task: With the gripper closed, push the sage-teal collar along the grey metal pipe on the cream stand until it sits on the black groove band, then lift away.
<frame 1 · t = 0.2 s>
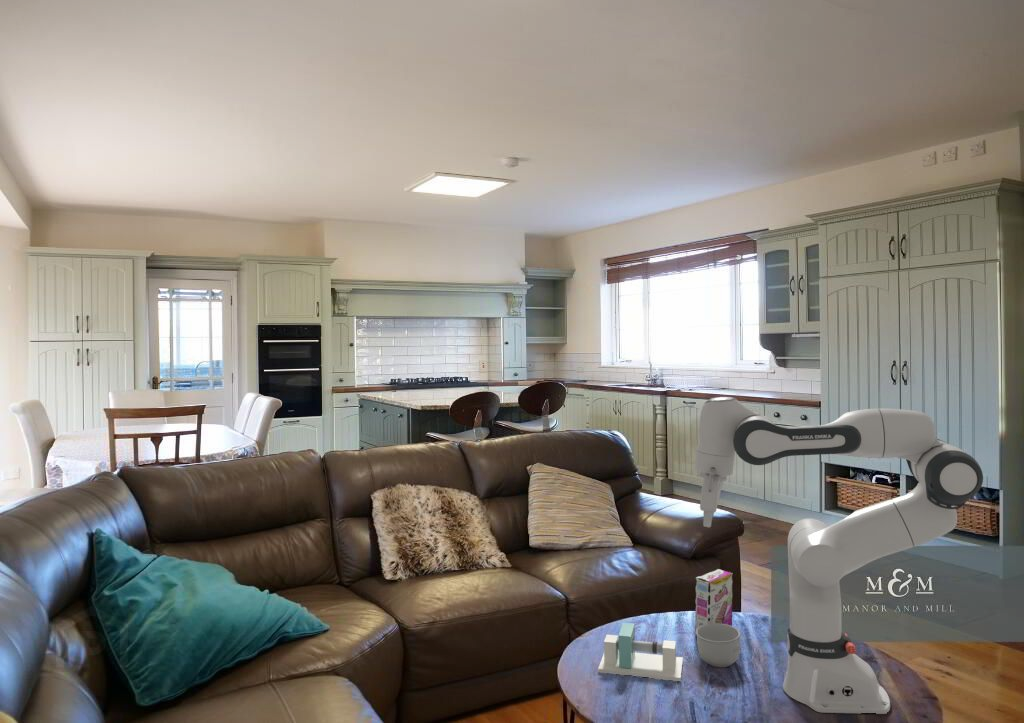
hand: (708, 521, 173), 39 cm above the table, tool pointing down, fingers open, 8 cm apart
pipe stand: (641, 666, 183), on the table
candy bar box: (714, 633, 202), on the table
teacup: (717, 659, 186), on the table
collar: (627, 644, 183), point 5 cm above the table, slide at 7.0 cm
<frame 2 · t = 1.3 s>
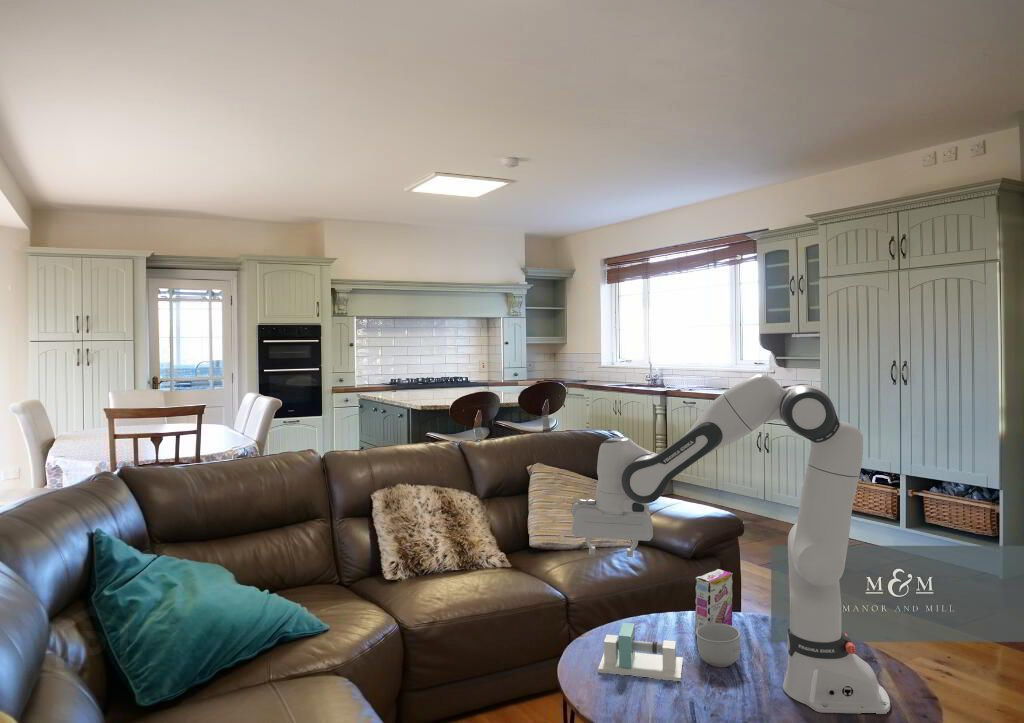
hand: (610, 555, 183), 28 cm above the table, tool pointing down, fingers open, 8 cm apart
nothing on the table moved.
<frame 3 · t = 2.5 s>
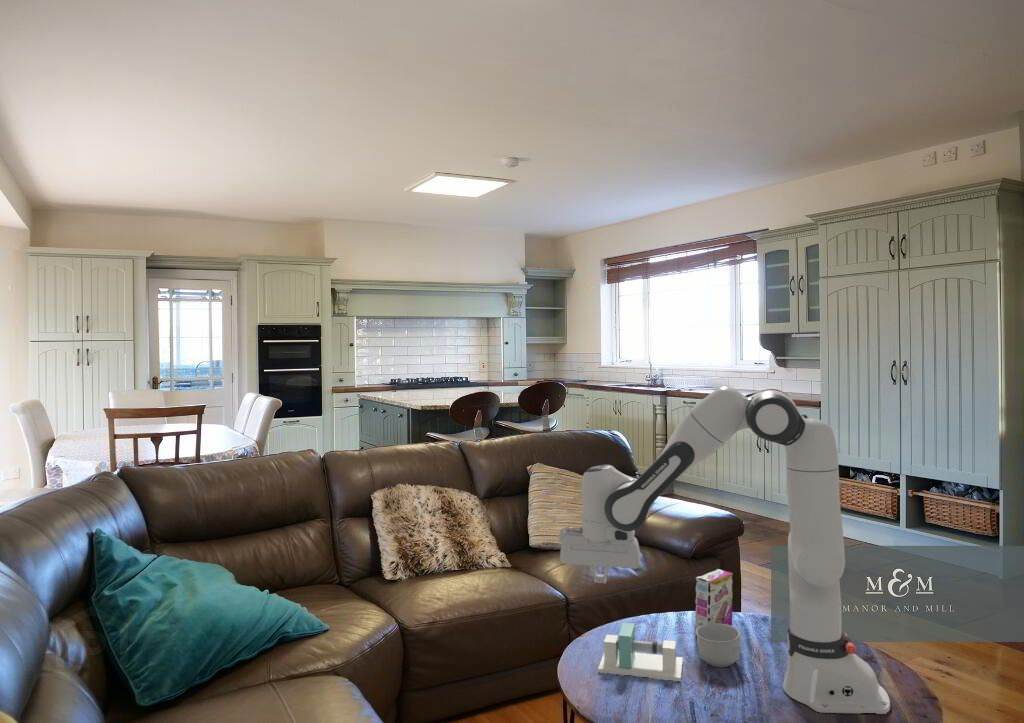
hand: (600, 582, 184), 21 cm above the table, tool pointing down, fingers closed
nothing on the table moved.
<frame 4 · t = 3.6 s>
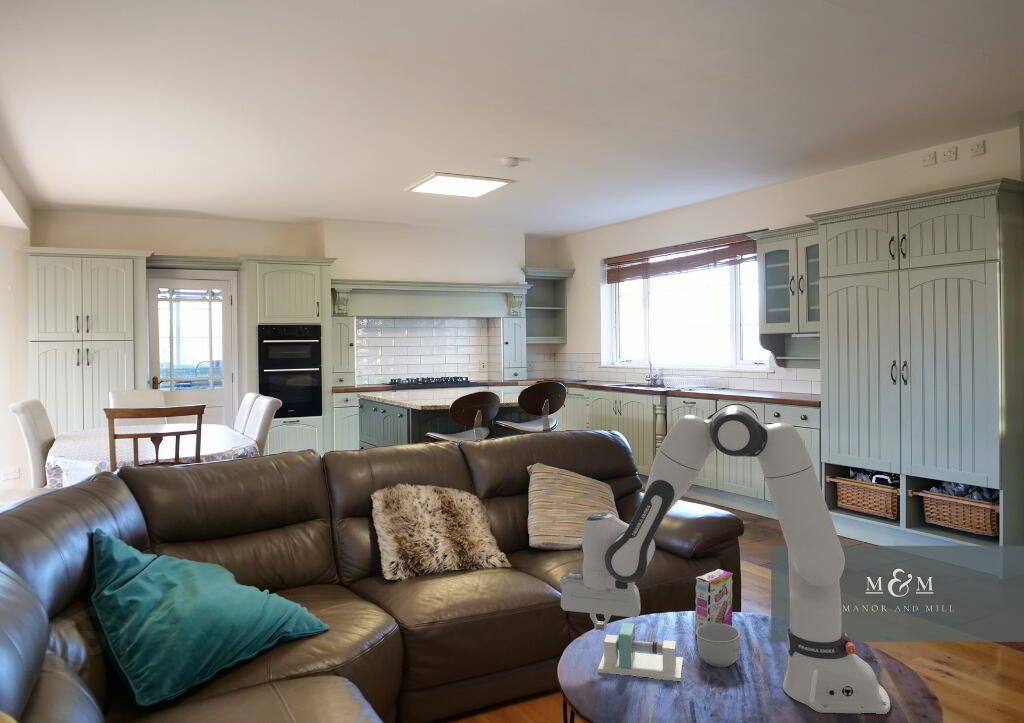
hand: (600, 629, 185), 9 cm above the table, tool pointing down, fingers closed
nothing on the table moved.
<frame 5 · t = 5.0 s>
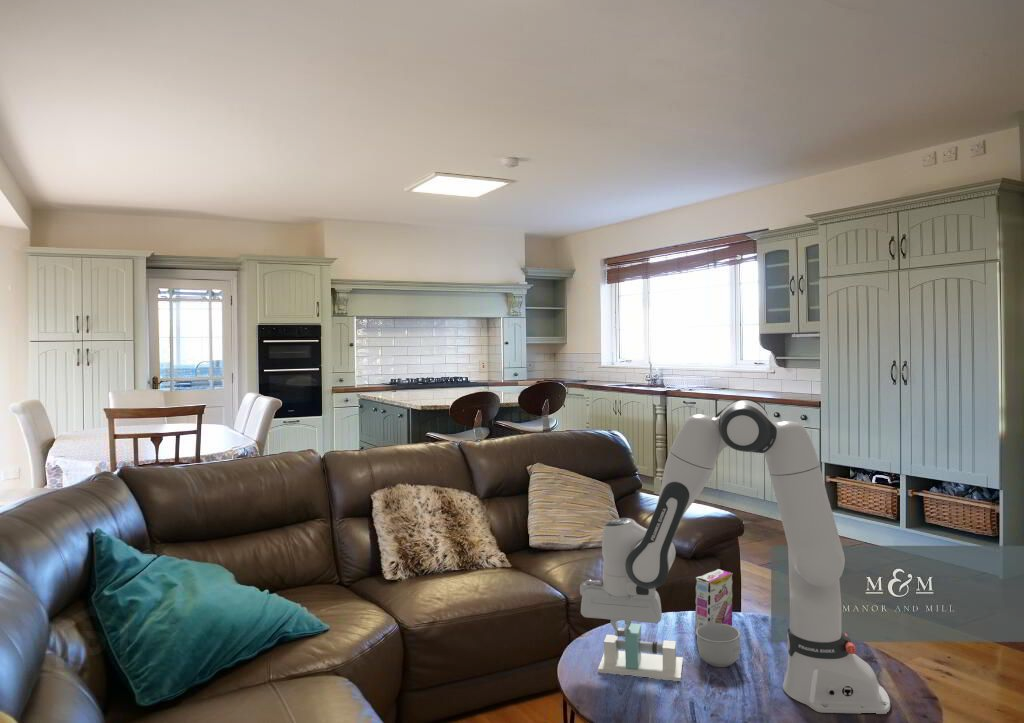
hand: (621, 635, 184), 7 cm above the table, tool pointing down, fingers closed
collar: (633, 645, 183), point 5 cm above the table, slide at 5.4 cm, touching gripper
everything else where it was.
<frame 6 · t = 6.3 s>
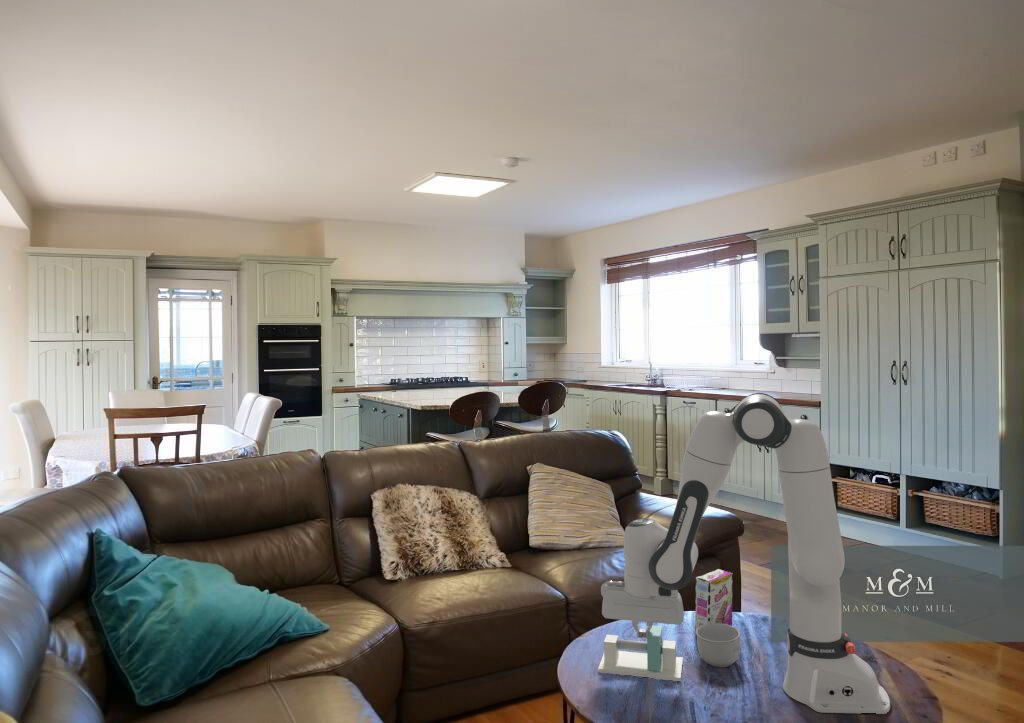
hand: (642, 637, 182), 8 cm above the table, tool pointing down, fingers closed
collar: (655, 647, 182), point 5 cm above the table, slide at 0.0 cm, touching gripper
everything else where it was.
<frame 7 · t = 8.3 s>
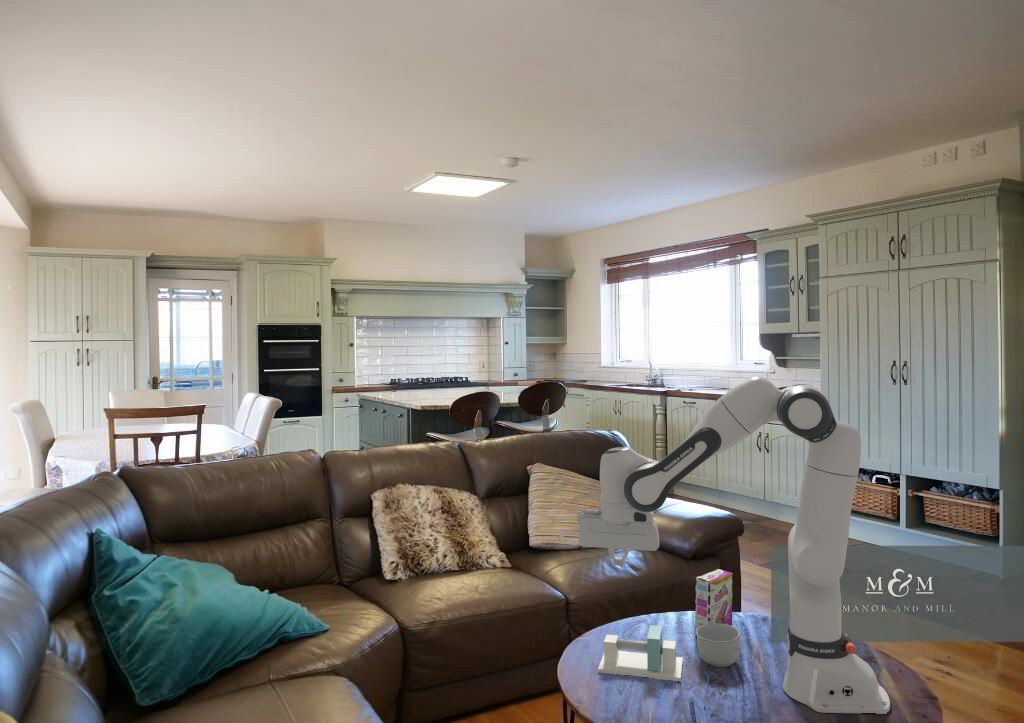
hand: (618, 565, 183), 26 cm above the table, tool pointing down, fingers closed
collar: (655, 647, 182), point 5 cm above the table, slide at 0.0 cm
everything else where it was.
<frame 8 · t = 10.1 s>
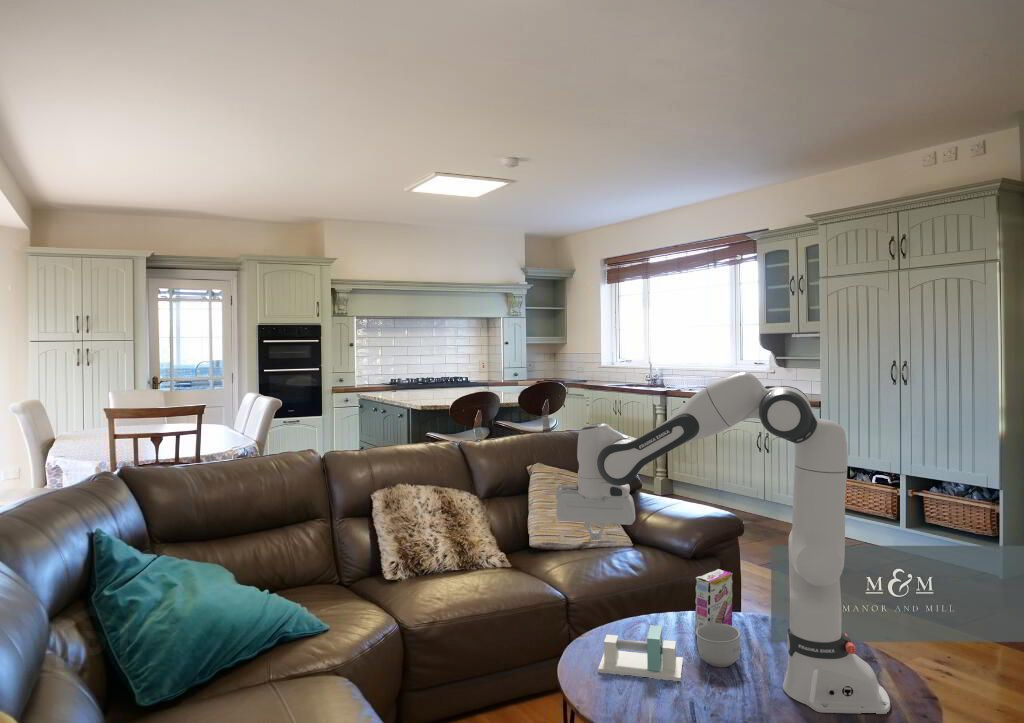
hand: (595, 539, 187), 31 cm above the table, tool pointing down, fingers closed
nothing on the table moved.
at the end: collar slide at 0.0 cm; collar 0.0 cm from the target spot, resting on pipe stand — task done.
